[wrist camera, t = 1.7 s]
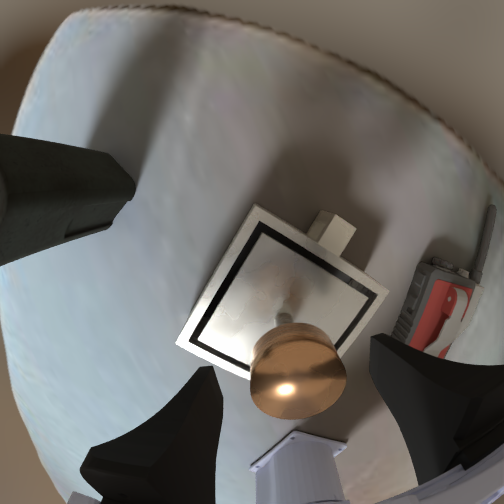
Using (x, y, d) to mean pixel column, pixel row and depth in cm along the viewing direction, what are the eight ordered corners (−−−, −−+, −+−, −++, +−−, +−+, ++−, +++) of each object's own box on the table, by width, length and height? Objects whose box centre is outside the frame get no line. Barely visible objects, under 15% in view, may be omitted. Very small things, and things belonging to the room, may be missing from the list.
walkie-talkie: (426, 380, 23) (489, 207, 19) (444, 403, 19) (519, 212, 15) (365, 379, 23) (434, 175, 19) (380, 407, 19) (467, 174, 15)
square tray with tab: (294, 367, 22) (302, 401, 18) (189, 314, 21) (175, 343, 17) (377, 250, 20) (406, 264, 15) (269, 178, 19) (274, 174, 14)
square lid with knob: (297, 381, 18) (314, 455, 11) (199, 334, 17) (174, 407, 10) (364, 294, 16) (418, 348, 10) (262, 231, 16) (269, 261, 9)
